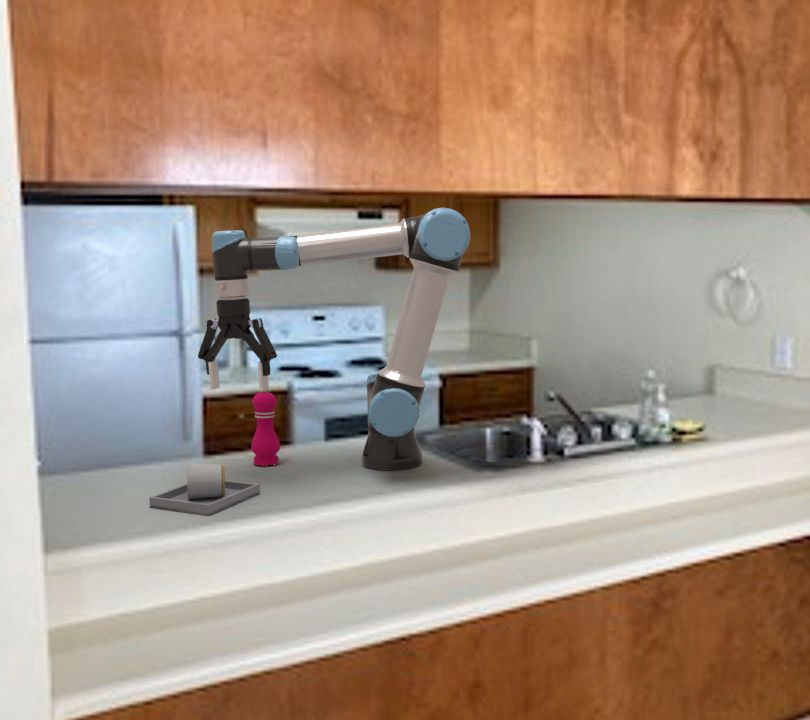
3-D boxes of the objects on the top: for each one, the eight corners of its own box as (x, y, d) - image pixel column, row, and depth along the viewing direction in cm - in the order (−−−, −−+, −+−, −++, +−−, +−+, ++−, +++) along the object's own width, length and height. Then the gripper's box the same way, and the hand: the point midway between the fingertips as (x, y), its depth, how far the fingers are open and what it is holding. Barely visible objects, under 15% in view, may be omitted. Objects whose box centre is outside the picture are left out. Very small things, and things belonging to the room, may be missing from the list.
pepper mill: (285, 464, 233) (283, 386, 231) (259, 468, 229) (257, 388, 227) (272, 459, 239) (270, 383, 237) (247, 463, 235) (244, 385, 233)
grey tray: (260, 493, 206) (259, 484, 206) (209, 515, 190) (209, 505, 190) (203, 486, 213) (202, 477, 213) (149, 507, 197) (149, 497, 197)
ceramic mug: (226, 500, 199) (224, 465, 198) (187, 503, 197) (185, 468, 196) (225, 488, 209) (224, 455, 208) (188, 491, 207) (187, 458, 207)
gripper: (178, 300, 212) (185, 390, 215) (270, 298, 202) (276, 393, 205) (197, 298, 219) (204, 385, 222) (287, 295, 209) (293, 387, 212)
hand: (239, 389), depth 213 cm, fingers open, 13 cm apart
